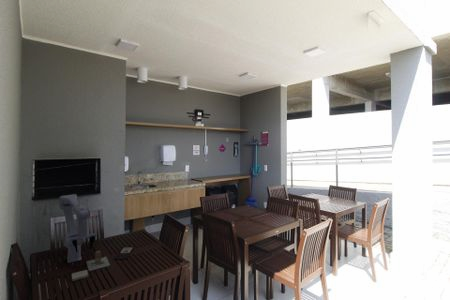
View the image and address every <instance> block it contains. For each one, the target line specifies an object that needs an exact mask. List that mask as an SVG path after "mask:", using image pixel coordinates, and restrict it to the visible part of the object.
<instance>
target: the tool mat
mask: <svg viewBox="0 0 450 300" xmlns="http://www.w3.org/2000/svg"><path fill="white" fill-rule="evenodd" d="M101 260H104V262H105V263H103V264H99V265H95V266H92V263H93V262H95V259H91V260H87V261H86V262H85V263H86V265H87V271H88V272H91V271H96V270H99V269H102V268H103V269H104V268H107V267H110V266H111V264H110V262H109V259H108V258H107V256H104V257H101Z"/></svg>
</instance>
